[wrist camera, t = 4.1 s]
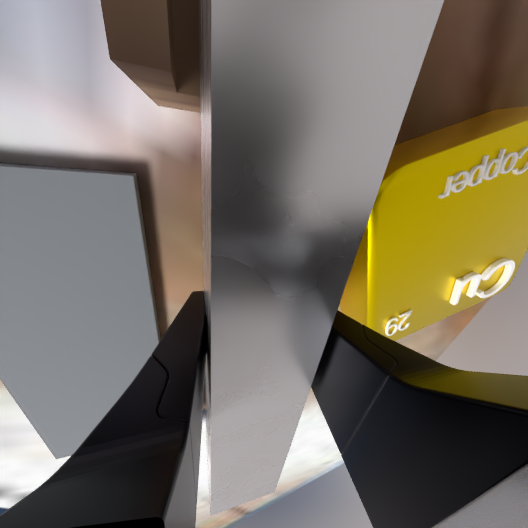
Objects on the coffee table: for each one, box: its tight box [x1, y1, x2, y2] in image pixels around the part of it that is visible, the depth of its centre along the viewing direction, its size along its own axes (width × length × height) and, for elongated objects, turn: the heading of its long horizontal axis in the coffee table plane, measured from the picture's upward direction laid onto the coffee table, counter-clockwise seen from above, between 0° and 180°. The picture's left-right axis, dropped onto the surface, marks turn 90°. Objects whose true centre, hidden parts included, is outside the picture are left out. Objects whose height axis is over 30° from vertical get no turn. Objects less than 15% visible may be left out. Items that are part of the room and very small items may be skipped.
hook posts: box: [101, 0, 206, 409], centre depth 11 cm, size 6×19×8 cm, turn 173°
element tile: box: [340, 107, 528, 341], centre depth 17 cm, size 15×15×5 cm
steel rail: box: [199, 0, 444, 515], centre depth 7 cm, size 3×20×3 cm, turn 173°
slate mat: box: [0, 163, 161, 459], centre depth 15 cm, size 9×23×1 cm, turn 173°
